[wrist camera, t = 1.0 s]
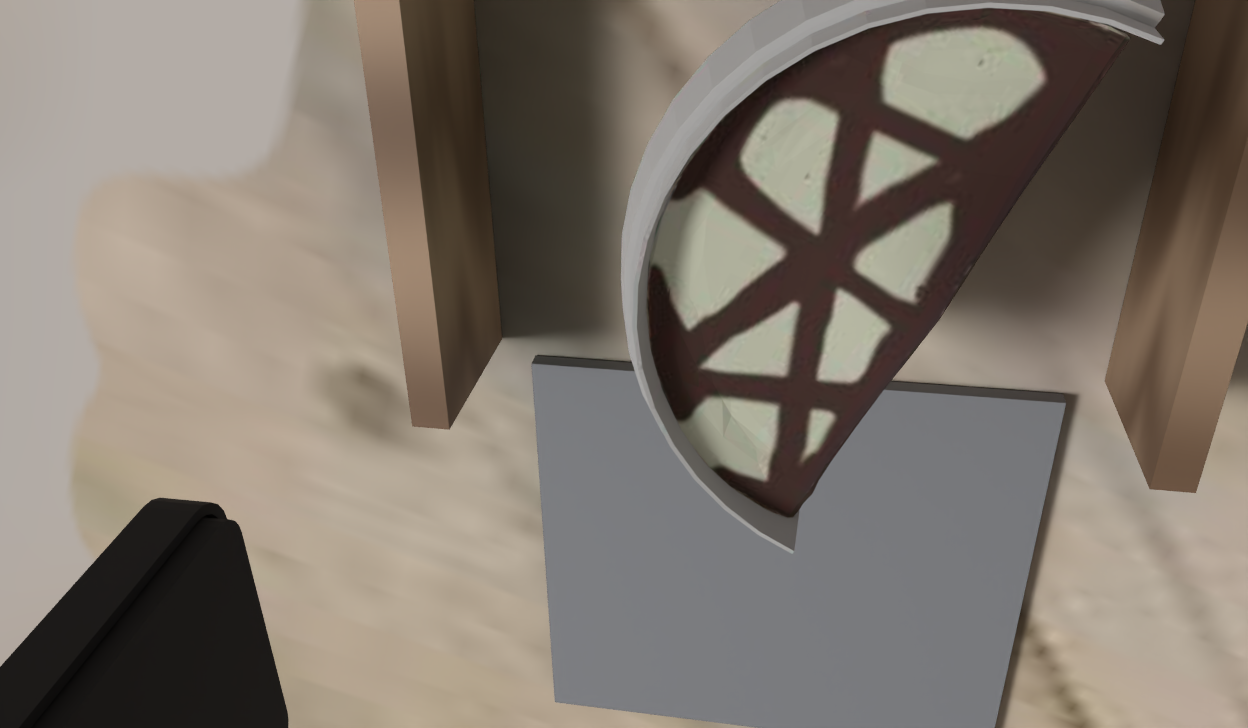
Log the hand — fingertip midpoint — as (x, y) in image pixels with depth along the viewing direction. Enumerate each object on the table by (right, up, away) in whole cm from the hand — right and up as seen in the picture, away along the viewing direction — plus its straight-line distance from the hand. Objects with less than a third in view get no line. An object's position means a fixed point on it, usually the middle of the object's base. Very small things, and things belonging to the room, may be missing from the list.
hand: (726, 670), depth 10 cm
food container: (+4, +10, +17) cm, 20 cm away
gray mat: (+4, -4, +24) cm, 25 cm away
